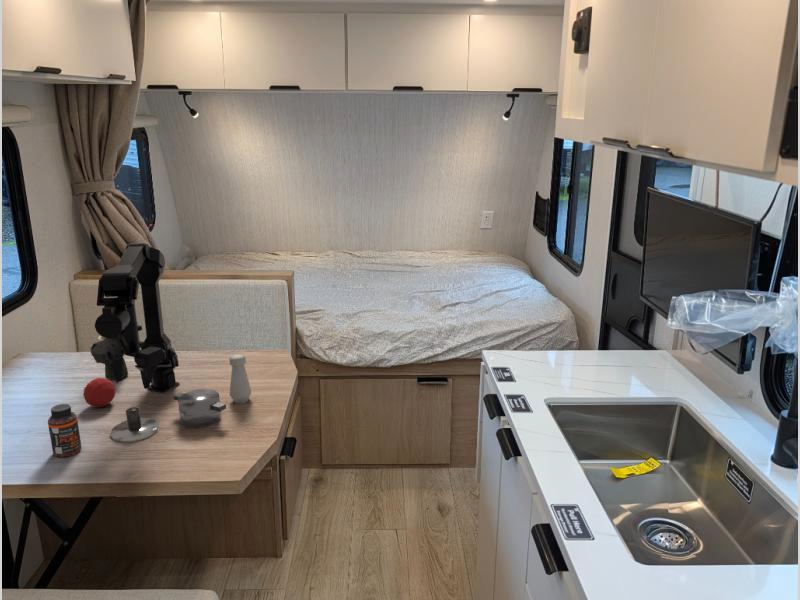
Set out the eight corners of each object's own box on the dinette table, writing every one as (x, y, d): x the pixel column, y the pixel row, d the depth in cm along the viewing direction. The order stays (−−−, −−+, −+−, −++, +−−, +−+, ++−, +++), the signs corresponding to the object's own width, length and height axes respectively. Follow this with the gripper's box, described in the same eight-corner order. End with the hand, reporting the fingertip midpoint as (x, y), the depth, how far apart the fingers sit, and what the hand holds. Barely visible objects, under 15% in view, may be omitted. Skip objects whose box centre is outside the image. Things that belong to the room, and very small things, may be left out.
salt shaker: (246, 405, 166) (242, 360, 162) (226, 404, 167) (222, 359, 164) (255, 396, 172) (251, 352, 168) (236, 394, 173) (232, 351, 169)
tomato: (108, 378, 163) (91, 367, 166) (86, 403, 160) (70, 391, 163) (126, 392, 169) (109, 381, 173) (106, 416, 166) (89, 404, 170)
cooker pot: (163, 420, 158) (160, 399, 157) (192, 404, 167) (190, 384, 165) (210, 434, 152) (208, 411, 150) (238, 416, 160) (236, 395, 158)
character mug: (139, 376, 185) (133, 335, 182) (118, 385, 180) (112, 342, 176) (116, 369, 191) (110, 329, 187) (95, 377, 185) (88, 336, 181)
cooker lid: (101, 437, 151) (97, 414, 149) (137, 418, 161) (134, 396, 159) (132, 447, 146) (129, 424, 145) (168, 427, 156) (166, 405, 154)
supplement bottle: (62, 461, 140) (54, 415, 137) (48, 453, 143) (39, 409, 140) (87, 449, 145) (80, 405, 142) (72, 442, 148) (65, 399, 145)
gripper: (66, 328, 143) (76, 391, 147) (125, 340, 135) (134, 405, 139) (106, 315, 152) (115, 374, 157) (163, 325, 145) (171, 386, 149)
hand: (132, 385), depth 150 cm, fingers open, 9 cm apart
